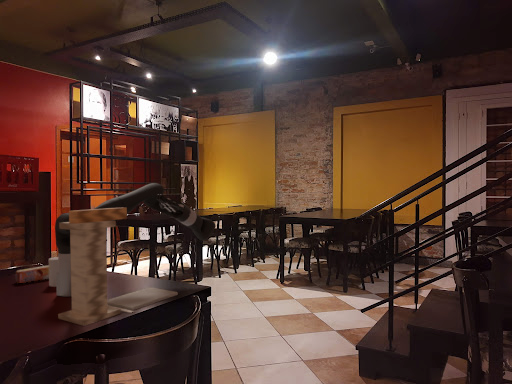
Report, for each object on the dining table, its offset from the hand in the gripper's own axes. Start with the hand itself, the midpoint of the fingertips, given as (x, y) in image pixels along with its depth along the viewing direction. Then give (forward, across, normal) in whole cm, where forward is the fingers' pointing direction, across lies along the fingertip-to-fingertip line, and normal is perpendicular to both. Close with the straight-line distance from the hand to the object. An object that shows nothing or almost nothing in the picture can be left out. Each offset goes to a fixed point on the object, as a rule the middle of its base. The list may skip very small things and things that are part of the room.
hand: (158, 196), depth 159 cm
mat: (-10, +1, +40) cm, 41 cm away
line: (+1, +1, +46) cm, 46 cm away
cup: (-8, -51, +41) cm, 66 cm away
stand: (+9, +1, +51) cm, 52 cm away
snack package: (-10, -68, +41) cm, 80 cm away
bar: (+21, +1, +21) cm, 30 cm away
